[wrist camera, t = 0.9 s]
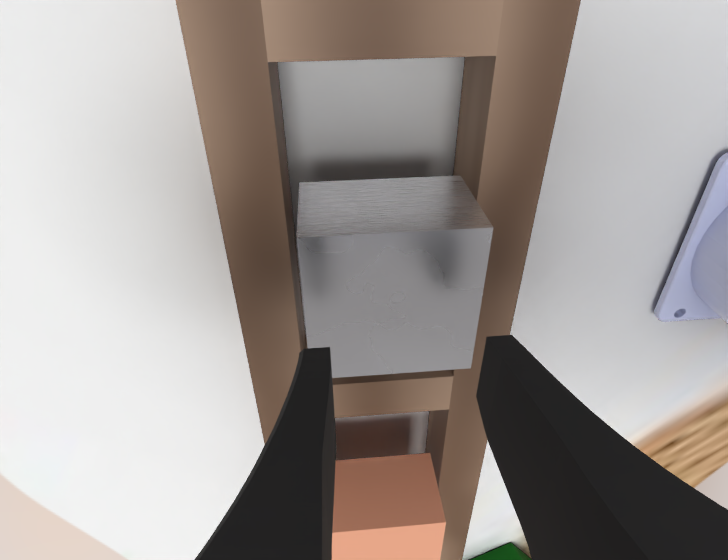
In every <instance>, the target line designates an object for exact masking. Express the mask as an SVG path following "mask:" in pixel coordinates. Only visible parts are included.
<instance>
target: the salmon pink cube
mask: <svg viewBox="0 0 728 560" xmlns="http://www.w3.org/2000/svg"><path fill="white" fill-rule="evenodd" d="M445 526H446V520H445V515H444V511H443V507H442V502H441V498H440V494H439V489H438V485H437V481H436V476H435V472H434V468H433V463H432V459H431V454H430V453H421V454H409V455H397V456H384V457H372V458H360V459H347V460H336V463H335V485H334V507H333V529H332V560H440V557H441V551H442V545H443V539H444V532H445Z"/></svg>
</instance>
